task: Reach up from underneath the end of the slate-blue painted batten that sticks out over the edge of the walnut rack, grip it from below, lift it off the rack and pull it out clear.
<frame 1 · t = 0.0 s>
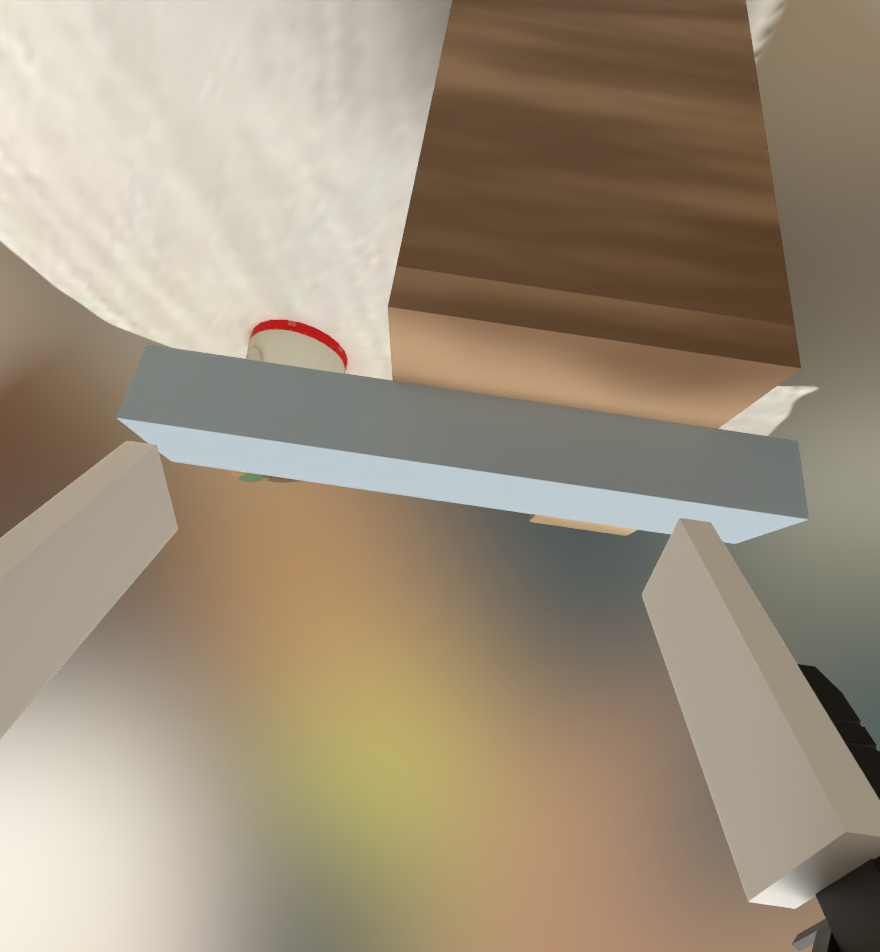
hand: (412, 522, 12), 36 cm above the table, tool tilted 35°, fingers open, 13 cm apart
batten: (468, 417, 19), point 30 cm above the table, touching rack
kitchen timer: (300, 349, 71), on the table
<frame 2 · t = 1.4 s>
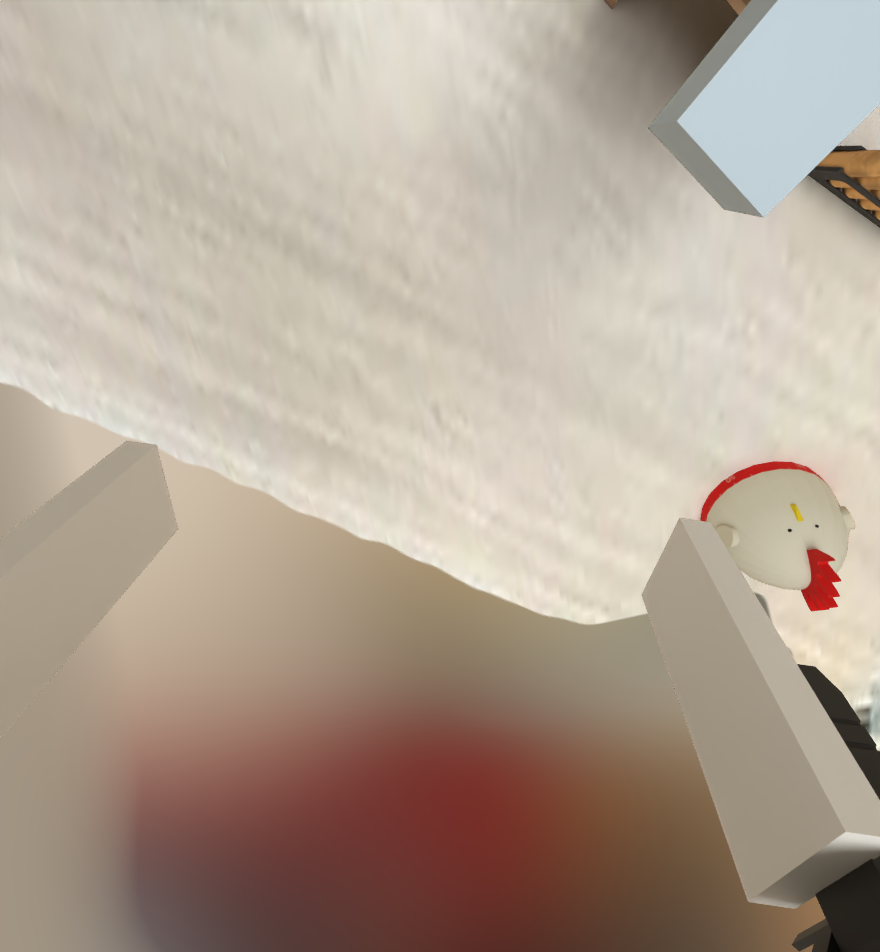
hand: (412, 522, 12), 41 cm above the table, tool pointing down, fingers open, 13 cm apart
kitchen timer: (760, 508, 59), on the table
ammunition clip: (854, 191, 41), on the table
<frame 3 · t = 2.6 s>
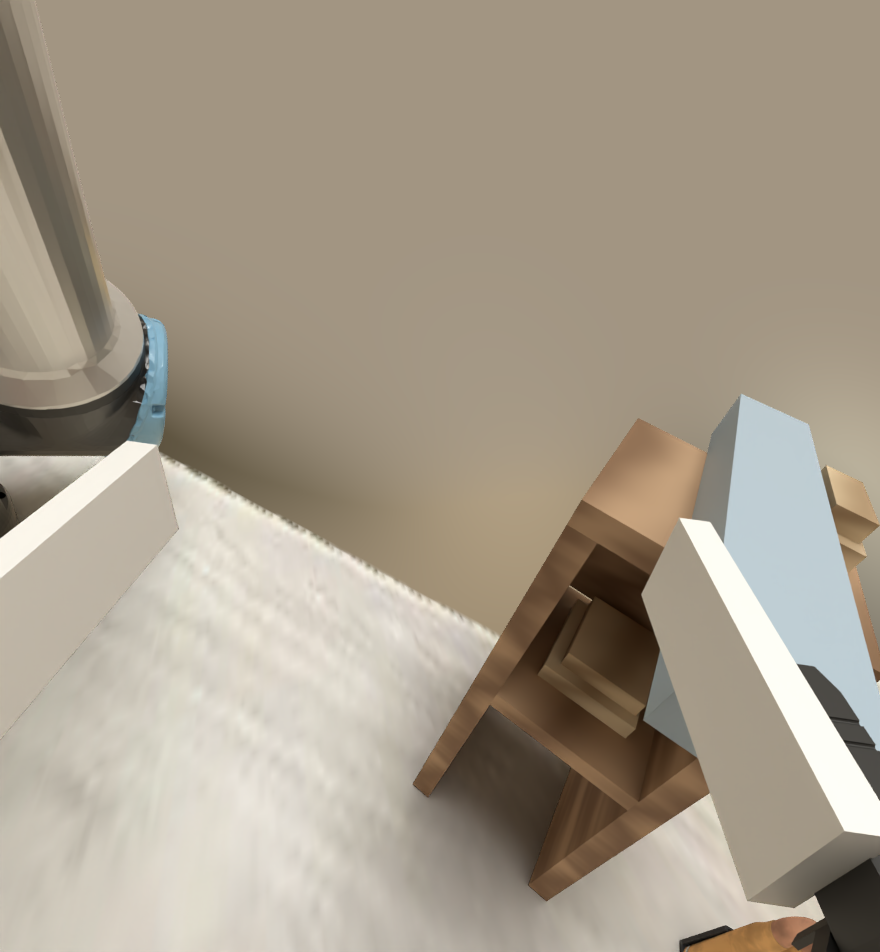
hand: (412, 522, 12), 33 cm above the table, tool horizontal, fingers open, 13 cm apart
rack: (508, 771, 40), on the table
batten: (735, 540, 21), point 30 cm above the table, touching rack
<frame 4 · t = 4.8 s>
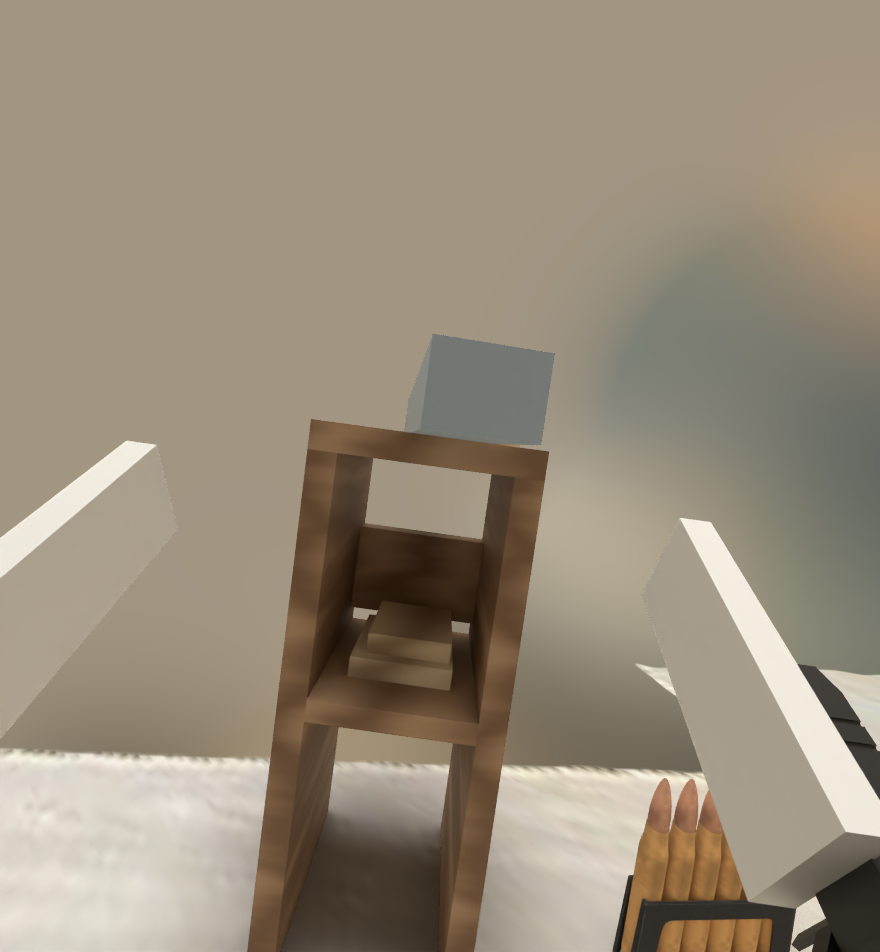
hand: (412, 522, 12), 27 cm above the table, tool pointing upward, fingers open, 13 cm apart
rack: (372, 888, 32), on the table
batten: (443, 438, 27), point 30 cm above the table, touching rack
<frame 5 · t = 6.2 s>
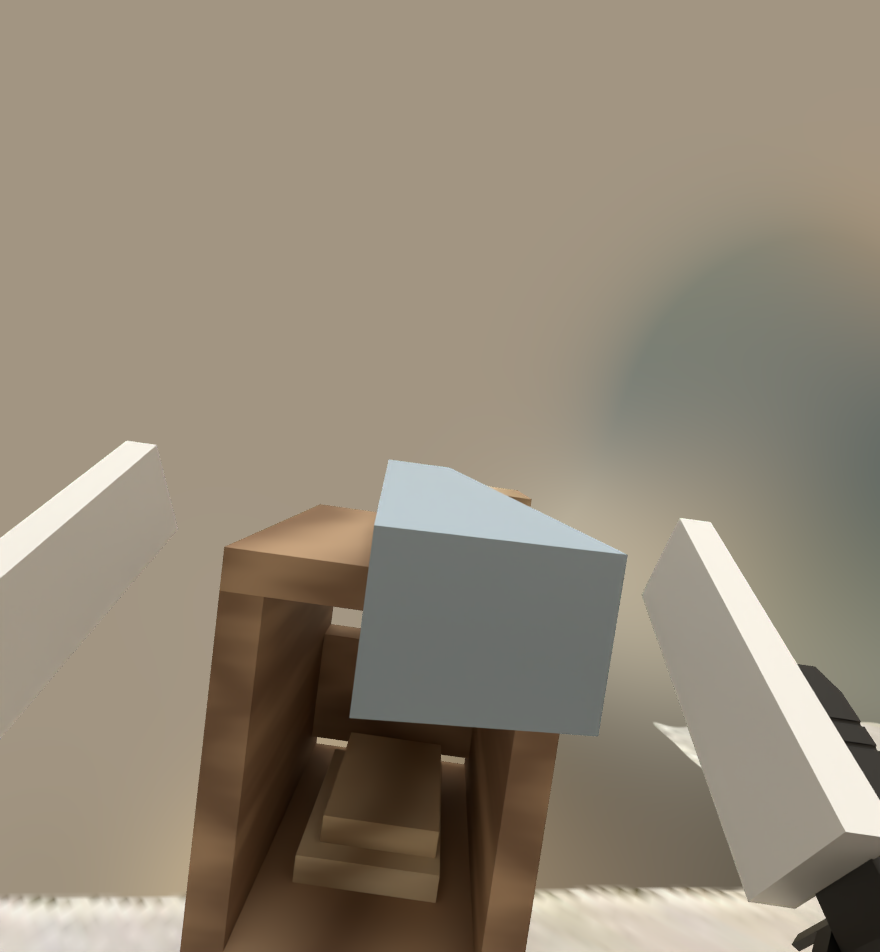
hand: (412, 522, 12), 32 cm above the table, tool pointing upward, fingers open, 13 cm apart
batten: (425, 551, 19), point 30 cm above the table, touching rack
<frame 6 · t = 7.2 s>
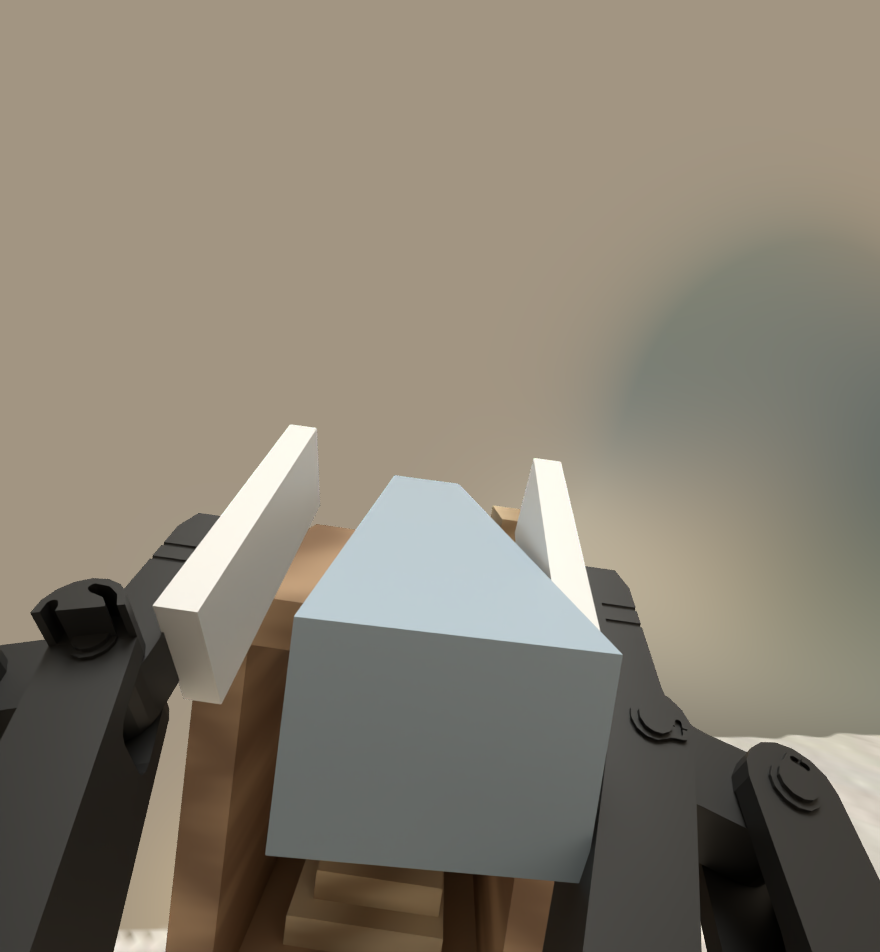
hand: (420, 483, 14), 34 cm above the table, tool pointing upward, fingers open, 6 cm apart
batten: (421, 584, 18), point 30 cm above the table, touching gripper, rack
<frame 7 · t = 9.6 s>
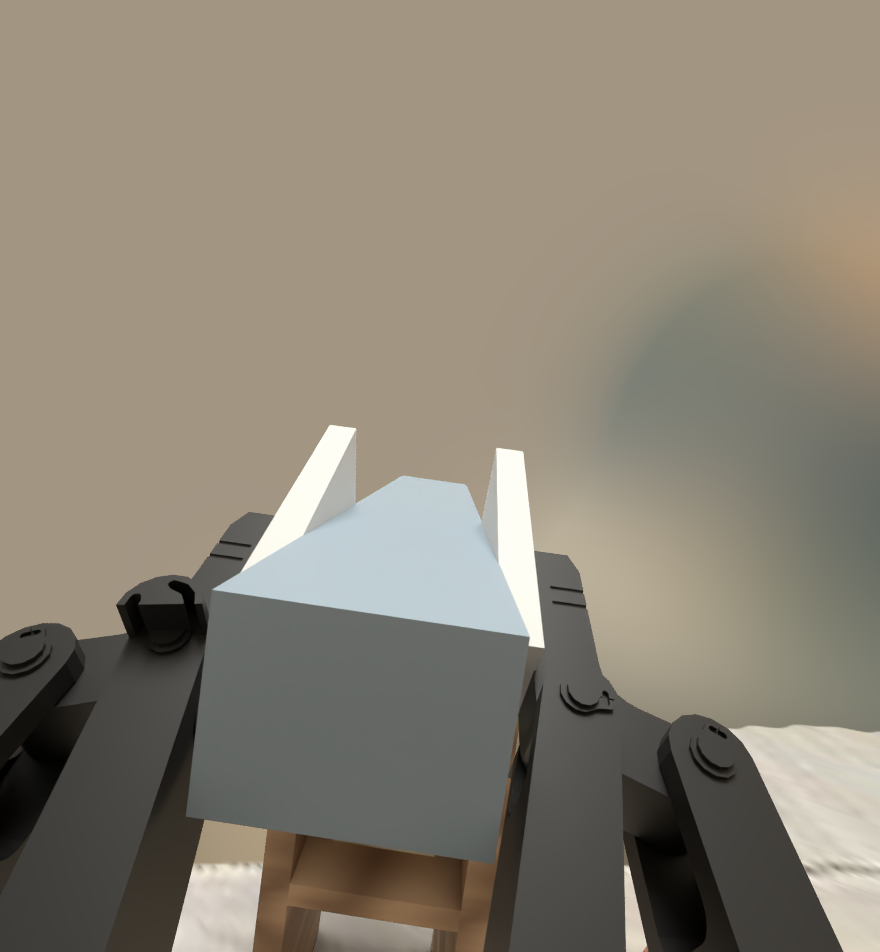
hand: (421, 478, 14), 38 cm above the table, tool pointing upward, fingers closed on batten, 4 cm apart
batten: (412, 580, 18), point 34 cm above the table, touching gripper
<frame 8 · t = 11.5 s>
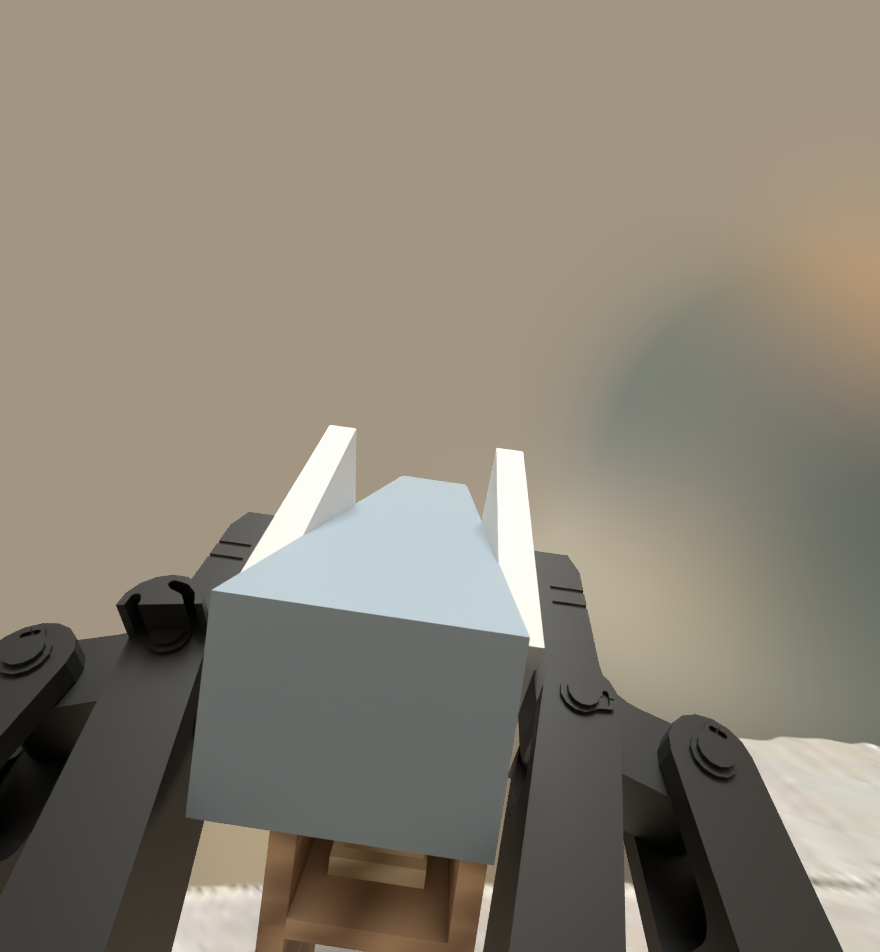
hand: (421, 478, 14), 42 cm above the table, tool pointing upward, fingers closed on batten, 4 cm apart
batten: (412, 580, 18), point 37 cm above the table, touching gripper
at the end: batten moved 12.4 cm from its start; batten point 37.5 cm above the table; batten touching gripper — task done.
